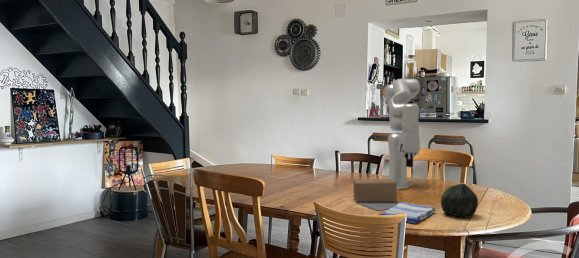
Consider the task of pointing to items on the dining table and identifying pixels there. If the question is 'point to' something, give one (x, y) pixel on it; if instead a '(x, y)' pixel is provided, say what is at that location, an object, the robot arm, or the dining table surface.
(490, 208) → the dining table surface
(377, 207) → the mat
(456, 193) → the squash
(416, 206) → the dish towel
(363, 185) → the wooden block
